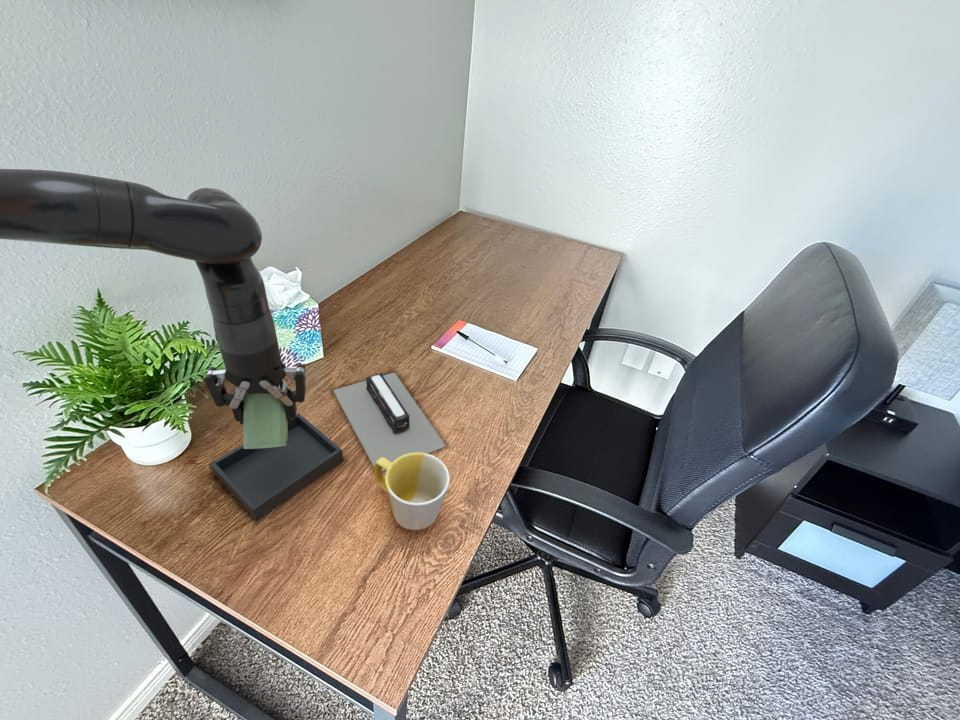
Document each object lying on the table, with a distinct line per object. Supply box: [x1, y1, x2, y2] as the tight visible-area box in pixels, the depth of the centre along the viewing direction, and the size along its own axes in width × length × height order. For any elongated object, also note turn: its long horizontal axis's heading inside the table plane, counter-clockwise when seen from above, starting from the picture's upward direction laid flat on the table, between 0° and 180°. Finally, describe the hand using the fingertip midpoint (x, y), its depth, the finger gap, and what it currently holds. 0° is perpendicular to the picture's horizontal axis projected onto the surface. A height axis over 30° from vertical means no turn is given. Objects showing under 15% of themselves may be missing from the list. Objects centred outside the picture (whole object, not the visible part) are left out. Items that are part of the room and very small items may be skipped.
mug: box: [374, 452, 451, 531], centre depth 78 cm, size 14×10×10 cm
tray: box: [209, 412, 344, 522], centre depth 83 cm, size 17×13×3 cm
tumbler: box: [242, 393, 288, 449], centre depth 75 cm, size 6×6×10 cm
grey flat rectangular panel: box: [332, 371, 447, 472], centre depth 96 cm, size 14×25×4 cm, turn 32°
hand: (267, 418), depth 76 cm, fingers closed on tumbler, 6 cm apart
